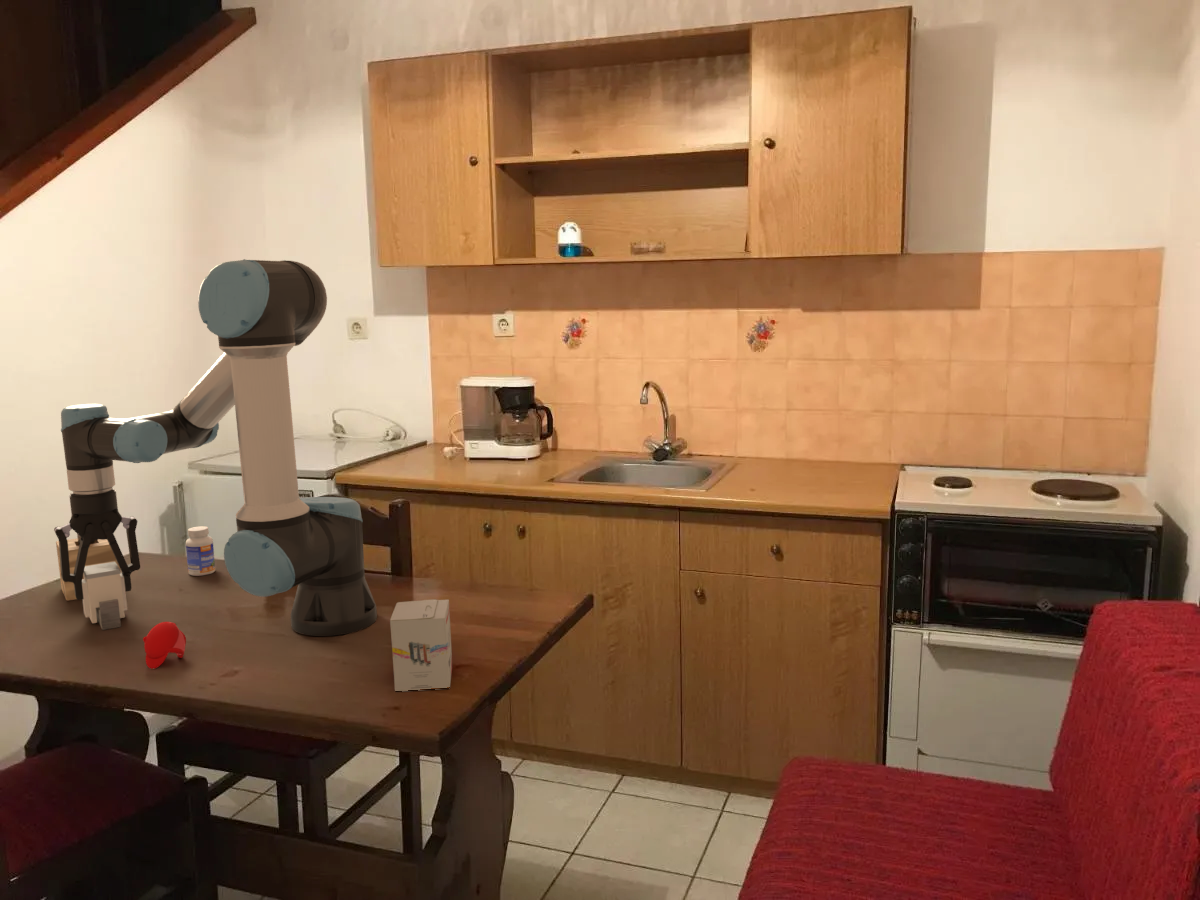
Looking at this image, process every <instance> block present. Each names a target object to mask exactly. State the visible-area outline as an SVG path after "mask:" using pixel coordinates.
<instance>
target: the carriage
mask: <svg viewBox="0 0 1200 900" xmlns="http://www.w3.org/2000/svg"><path fill="white" fill-rule="evenodd" d="M120 571H121V569H120V568H119V567H118V565H117V564H116V562H109V563H103V564H96V565H90V566H85V568H84V573H83V575H84V579H85V580H86V582H87V589H88V598H89V607H90V616H91V617H88V618H89V620H90V622H91V624H96V623H97V624H98V620H97V617H96V608H97V607H99V602H102V601H108V600H113V599H118V603H119V613H120V619H122V618H123V619H124V618H125V617H126V616H125V611H124V604H123V595H122V585H121V576H120V574H121V573H122V571H121V572H120Z"/></svg>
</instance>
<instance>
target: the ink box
mask: <svg viewBox="0 0 1200 900" xmlns="http://www.w3.org/2000/svg"><path fill="white" fill-rule="evenodd" d="M450 616H451V615H450V599H435V598H434V599H423V600H422V599H421V600H411V601H409V600H407V601H398V602H396V604H395V606H394V609H393V612H392V614H391V617H390V619H389V625H390V636H391V638H390V639H391V651H392V665H393V682H394V692H395V691H402V692H409V691H408V690H418V691H421V690H420V689H431V688H447V687H450V688H451V683H452V682H451V681H452V673H453V672H452V671H453V654H452V652H453V651H452V635H451V633H452V632H451V618H450Z"/></svg>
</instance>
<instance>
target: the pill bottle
mask: <svg viewBox="0 0 1200 900" xmlns="http://www.w3.org/2000/svg"><path fill="white" fill-rule="evenodd" d="M209 533H210V531H209V527H208V526H206V525H205V526H201V525H199V526H193V527H190V528H188V529H187V535H188V537H189V538H187V539H186V541H185V551H186V553H185V554H186V562H187V573H188V574H189V575H190V576H195V577H198V576H199V577H200V576H207V575H211V574H214V572H215V571H216V560H215V551H214V540H213V537H212V536H210V534H209Z"/></svg>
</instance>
